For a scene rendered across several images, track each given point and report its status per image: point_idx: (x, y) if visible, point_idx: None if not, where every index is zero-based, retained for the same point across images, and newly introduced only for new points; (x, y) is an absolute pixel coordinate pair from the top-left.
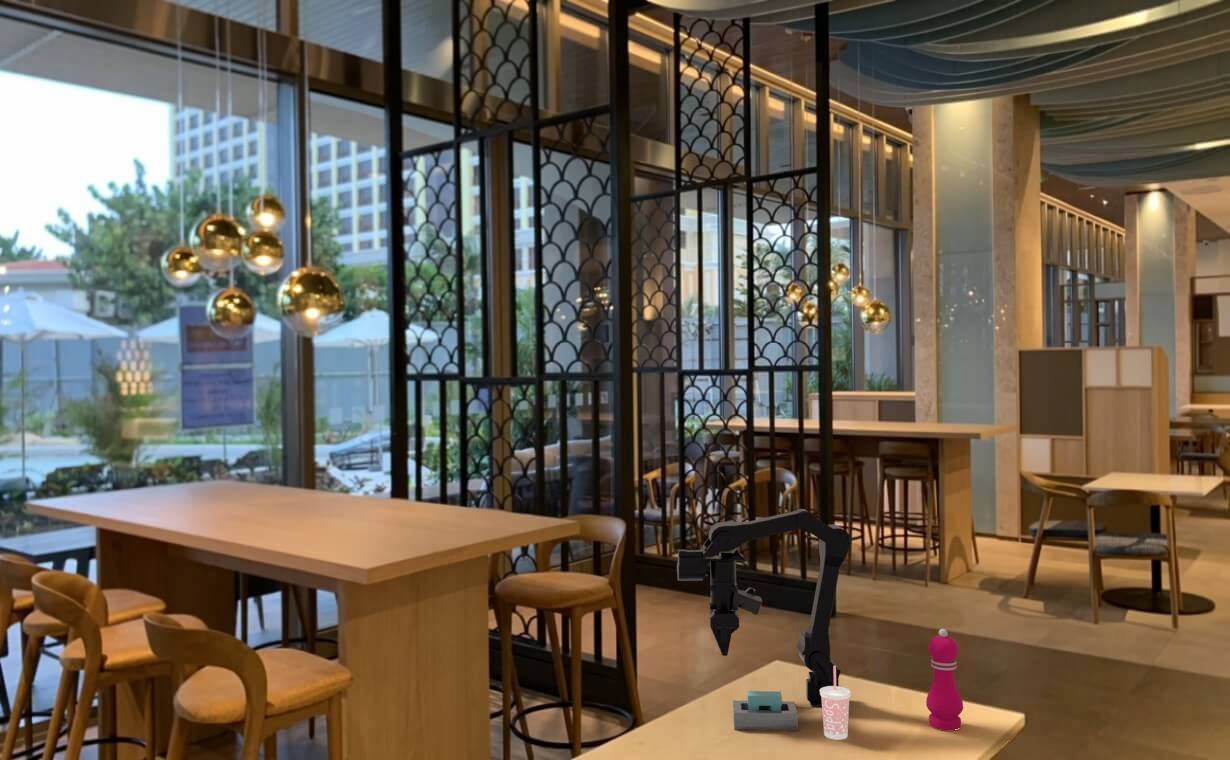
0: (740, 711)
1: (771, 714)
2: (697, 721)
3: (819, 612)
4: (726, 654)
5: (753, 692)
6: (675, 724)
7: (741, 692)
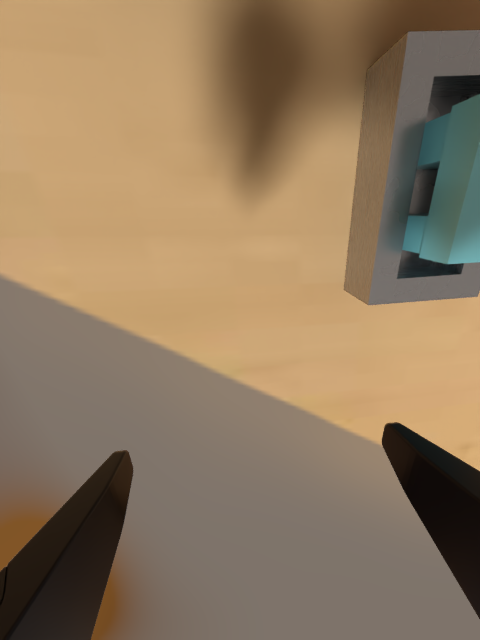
0: (474, 277)
1: None
2: (368, 370)
3: None
4: (402, 430)
5: (472, 236)
6: (382, 408)
7: (122, 272)
